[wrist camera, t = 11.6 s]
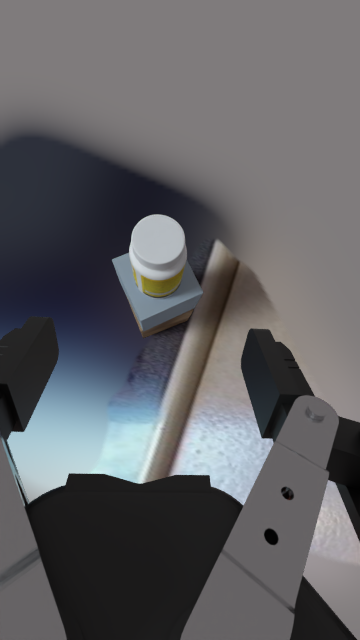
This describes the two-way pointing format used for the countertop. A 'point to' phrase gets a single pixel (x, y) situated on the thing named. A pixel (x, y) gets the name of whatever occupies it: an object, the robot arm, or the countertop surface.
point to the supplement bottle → (158, 256)
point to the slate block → (158, 309)
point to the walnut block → (164, 323)
